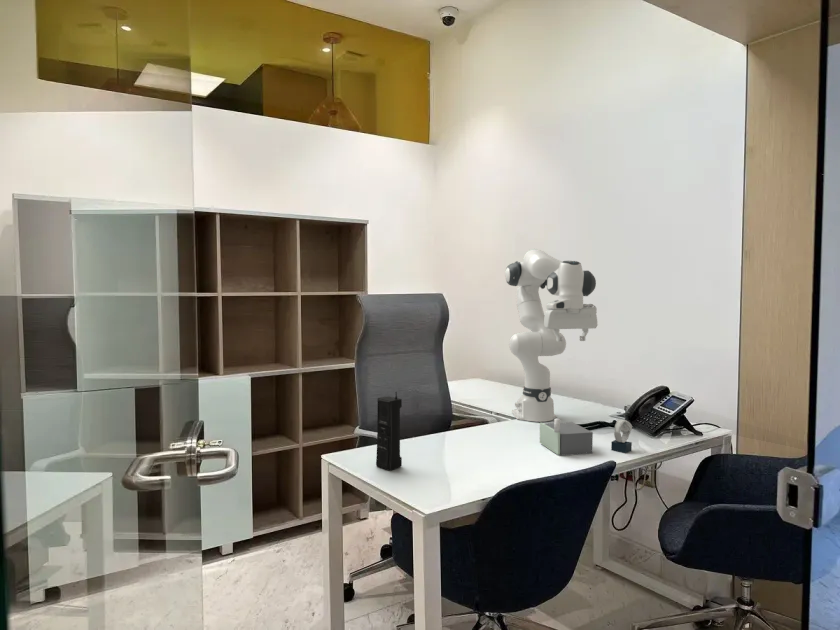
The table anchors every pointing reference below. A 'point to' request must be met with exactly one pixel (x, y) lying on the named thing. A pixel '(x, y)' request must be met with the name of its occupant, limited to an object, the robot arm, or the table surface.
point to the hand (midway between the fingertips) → (570, 341)
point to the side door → (551, 436)
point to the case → (574, 439)
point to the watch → (621, 442)
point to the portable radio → (388, 433)
